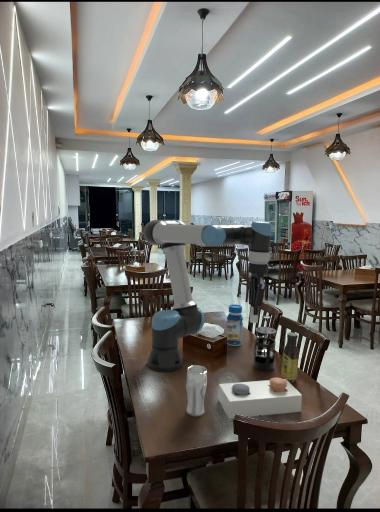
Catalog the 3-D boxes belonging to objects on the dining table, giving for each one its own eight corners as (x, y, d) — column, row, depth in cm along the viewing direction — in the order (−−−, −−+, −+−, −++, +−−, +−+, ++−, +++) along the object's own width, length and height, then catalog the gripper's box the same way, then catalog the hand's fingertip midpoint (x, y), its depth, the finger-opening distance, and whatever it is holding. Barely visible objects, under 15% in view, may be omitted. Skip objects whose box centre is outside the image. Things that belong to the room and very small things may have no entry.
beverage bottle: (245, 344, 184) (247, 306, 181) (232, 347, 179) (234, 309, 177) (234, 339, 191) (236, 303, 188) (222, 342, 186) (223, 304, 184)
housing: (229, 418, 118) (229, 401, 117) (218, 399, 129) (219, 384, 129) (300, 411, 123) (302, 395, 123) (284, 394, 135) (285, 378, 134)
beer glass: (184, 405, 125) (185, 365, 123) (204, 405, 125) (205, 364, 123) (185, 417, 118) (187, 374, 116) (206, 417, 118) (208, 374, 116)
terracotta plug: (273, 403, 124) (274, 386, 123) (265, 395, 130) (266, 378, 129) (289, 402, 125) (290, 384, 125) (281, 393, 131) (282, 377, 130)
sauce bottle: (279, 376, 150) (282, 330, 147) (294, 376, 149) (297, 331, 147) (282, 383, 143) (286, 336, 141) (298, 384, 143) (302, 336, 140)
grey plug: (234, 410, 121) (235, 392, 120) (229, 401, 127) (229, 384, 126) (251, 409, 123) (252, 391, 122) (245, 400, 128) (245, 382, 128)
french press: (278, 372, 154) (281, 320, 151) (257, 372, 152) (260, 320, 149) (268, 360, 165) (271, 312, 162) (248, 361, 164) (251, 312, 161)
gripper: (275, 265, 130) (269, 327, 134) (261, 259, 143) (256, 316, 146) (255, 265, 129) (250, 328, 132) (243, 259, 141) (238, 316, 145)
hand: (253, 322), depth 139 cm, fingers closed
